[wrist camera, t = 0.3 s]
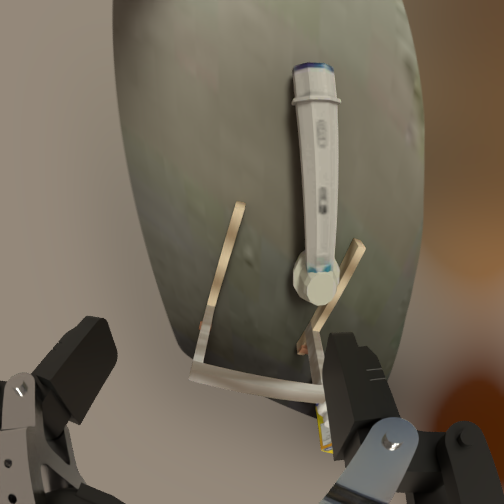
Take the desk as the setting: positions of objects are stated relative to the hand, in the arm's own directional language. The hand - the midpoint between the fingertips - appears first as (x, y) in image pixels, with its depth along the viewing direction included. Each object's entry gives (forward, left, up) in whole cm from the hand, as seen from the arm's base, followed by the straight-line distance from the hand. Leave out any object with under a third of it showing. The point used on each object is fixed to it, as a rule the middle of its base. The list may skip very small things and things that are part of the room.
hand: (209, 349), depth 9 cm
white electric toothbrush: (-2, +7, -23) cm, 24 cm away
